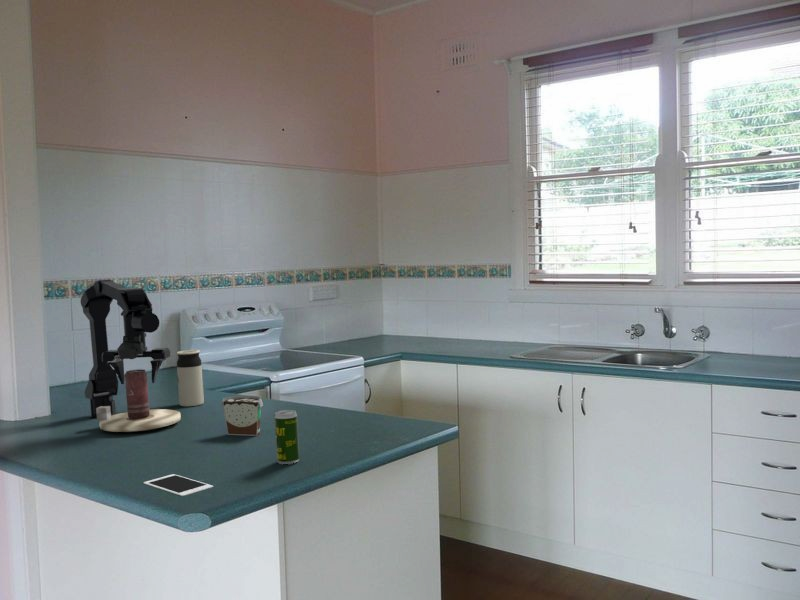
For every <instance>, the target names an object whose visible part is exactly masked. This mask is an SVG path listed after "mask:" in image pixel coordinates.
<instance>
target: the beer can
mask: <svg viewBox="0 0 800 600" xmlns="http://www.w3.org/2000/svg"><path fill="white" fill-rule="evenodd" d="M274 413H275V414H274V432H275V434H274V435H275V447H276V451H275V452H276V461H277V463H278V464H279V465H283V464H288V465H294V464H296V462H297V463H298V462H299V461H300V441H299V425H298V424H299V423H298V414H297V411H296V410H294V409H284V410H278V411H276V412H274ZM293 463H294V464H293Z"/></svg>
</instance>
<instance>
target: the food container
mask: <svg viewBox="0 0 800 600" xmlns="http://www.w3.org/2000/svg"><path fill="white" fill-rule="evenodd" d="M220 406H221V407H223V415H224V421H225V426H226V432H227V433H226V434H227V436H249V437H250V436H251V437H254V436H255V437H258V436H259V435H260V434H261V409H262V407H263V406H264V403H263V400H262V397H261V396H257V395H236V396H228V397H224V398H222V401H221V403H220Z"/></svg>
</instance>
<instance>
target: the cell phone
mask: <svg viewBox="0 0 800 600" xmlns="http://www.w3.org/2000/svg"><path fill="white" fill-rule="evenodd" d="M143 485H146V486H149V487H151V488H152V487H153V488H156V489H158V490H162V491H164V492H168V493H171V494H174V495H177V496H181V497H184V496H188V495H191V494H195V493H198V492H201V491H204V490H205V491H206V490H208V489H212V488H214V485H211V484H208V483H205V482H202V481H198V480H195V479H191V478H188V477H185V476H182V475H178V474H175V473H172V474H168V475H165V476H162V477H158V478H153V479H151V480H147V481H143Z"/></svg>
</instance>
